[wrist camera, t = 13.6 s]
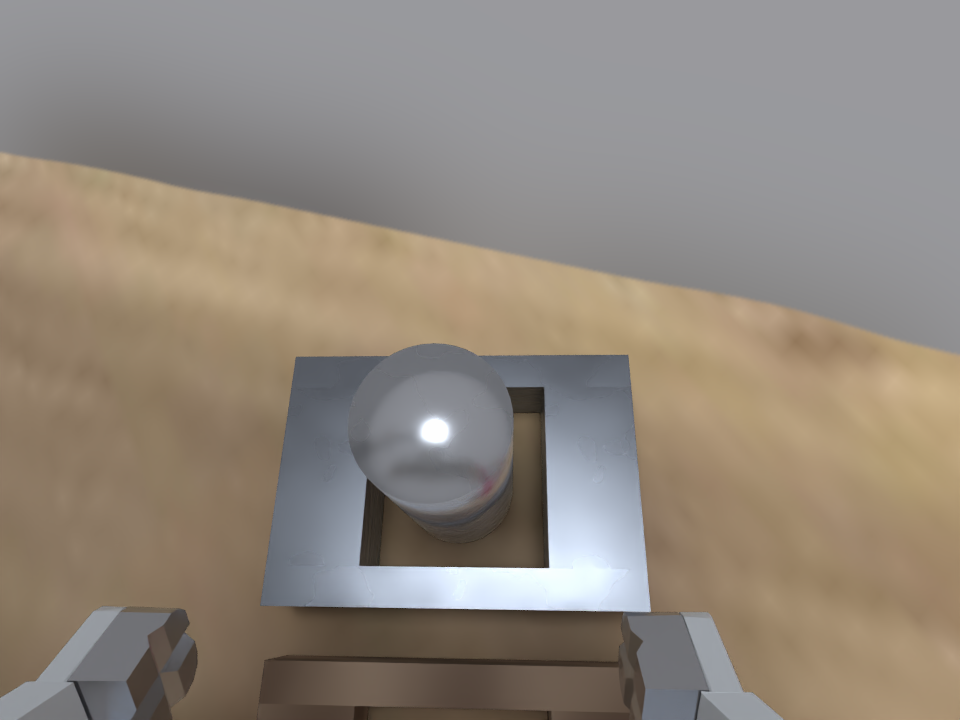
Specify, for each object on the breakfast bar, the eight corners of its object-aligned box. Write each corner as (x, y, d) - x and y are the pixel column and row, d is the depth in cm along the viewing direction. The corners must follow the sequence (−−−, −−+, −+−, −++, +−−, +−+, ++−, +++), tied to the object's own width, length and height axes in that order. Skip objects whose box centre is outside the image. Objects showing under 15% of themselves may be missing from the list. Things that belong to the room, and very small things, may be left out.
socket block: (292, 605, 21) (260, 605, 19) (320, 385, 24) (296, 356, 22) (632, 611, 21) (650, 612, 18) (614, 384, 24) (628, 354, 21)
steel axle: (404, 542, 22) (339, 502, 14) (411, 436, 23) (356, 343, 15) (512, 544, 22) (513, 504, 13) (512, 437, 23) (512, 343, 15)
